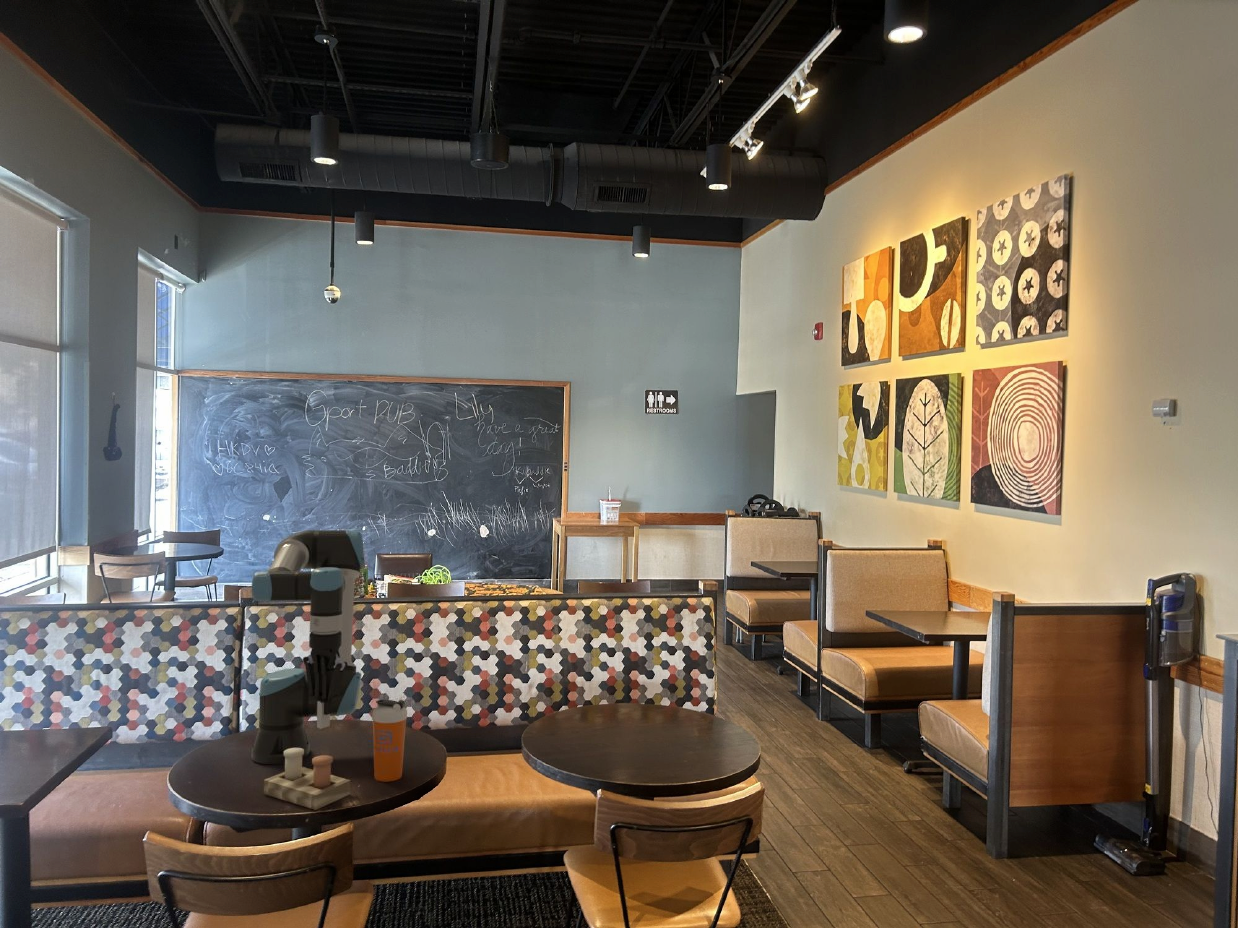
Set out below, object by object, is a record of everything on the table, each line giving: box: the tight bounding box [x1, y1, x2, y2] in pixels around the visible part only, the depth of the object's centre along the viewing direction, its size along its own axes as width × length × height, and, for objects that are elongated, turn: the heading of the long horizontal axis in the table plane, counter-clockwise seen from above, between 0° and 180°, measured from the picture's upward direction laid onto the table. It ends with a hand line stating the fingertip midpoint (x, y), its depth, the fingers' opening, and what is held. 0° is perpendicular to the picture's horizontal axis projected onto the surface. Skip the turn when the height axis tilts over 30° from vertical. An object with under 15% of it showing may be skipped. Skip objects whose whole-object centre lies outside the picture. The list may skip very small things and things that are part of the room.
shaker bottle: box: [371, 698, 408, 783], centre depth 224 cm, size 9×9×20 cm
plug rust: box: [311, 754, 334, 789], centre depth 209 cm, size 5×5×7 cm
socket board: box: [263, 766, 351, 811], centre depth 211 cm, size 18×11×4 cm, turn 62°
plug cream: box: [284, 748, 304, 781], centre depth 213 cm, size 5×5×7 cm
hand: (323, 726), depth 208 cm, fingers closed
